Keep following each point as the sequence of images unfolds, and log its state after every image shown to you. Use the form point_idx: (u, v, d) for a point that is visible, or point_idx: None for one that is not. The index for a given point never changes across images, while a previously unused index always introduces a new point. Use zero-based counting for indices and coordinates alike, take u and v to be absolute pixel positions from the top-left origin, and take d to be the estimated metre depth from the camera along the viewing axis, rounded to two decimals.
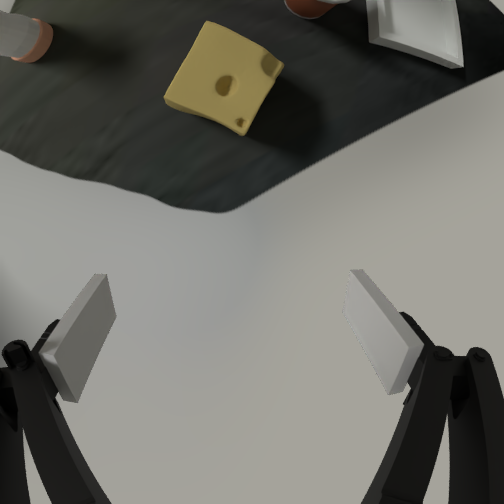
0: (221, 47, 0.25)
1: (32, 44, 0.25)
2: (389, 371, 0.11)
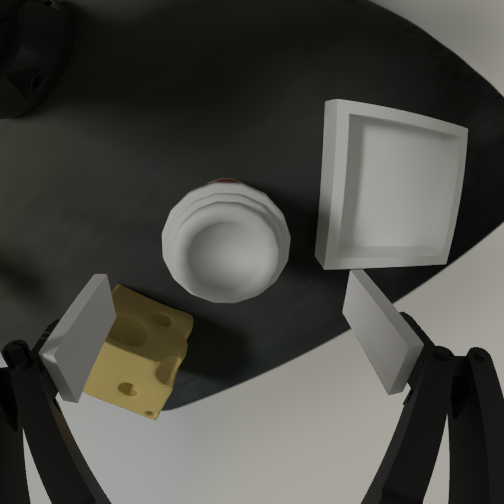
0: (110, 362, 0.25)
1: None
2: (389, 371, 0.11)
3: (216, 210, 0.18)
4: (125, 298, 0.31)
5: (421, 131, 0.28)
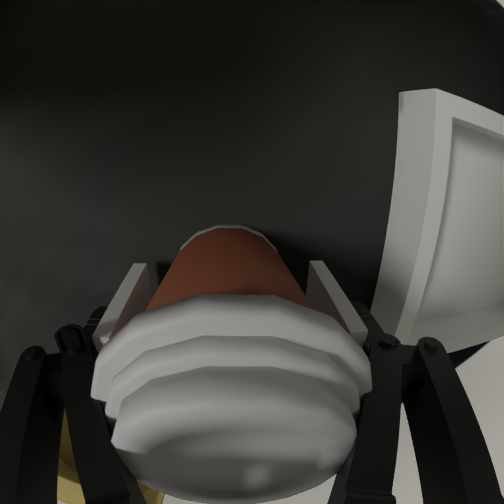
0: (72, 490, 0.12)
1: None
2: None
3: (207, 411, 0.05)
4: None
5: None
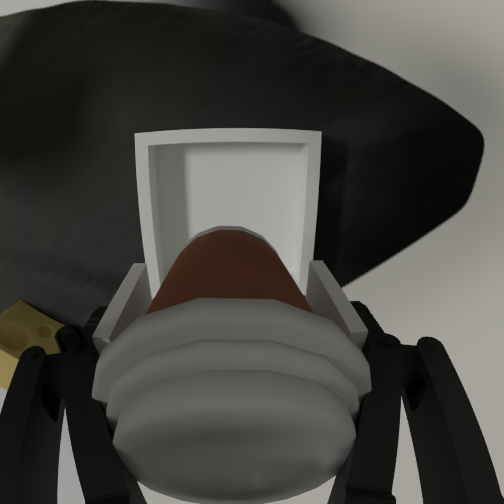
0: (1, 361, 0.25)
1: None
2: None
3: (207, 415, 0.05)
4: (20, 311, 0.31)
5: (263, 144, 0.28)
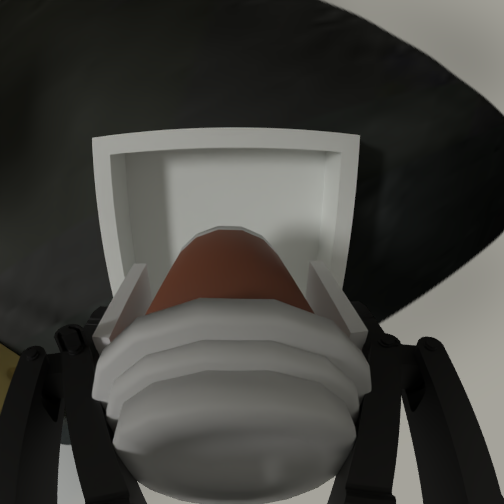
0: None
1: None
2: None
3: (207, 415, 0.05)
4: None
5: (275, 150, 0.20)
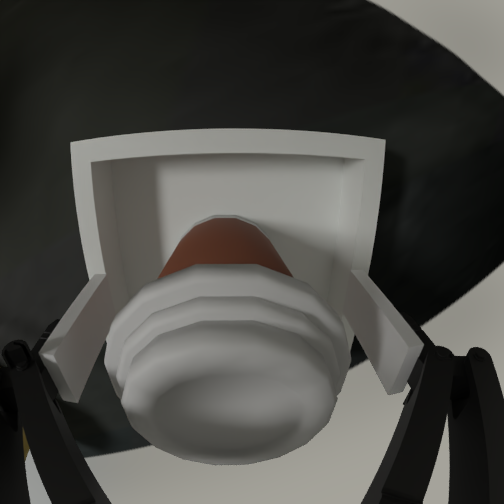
0: None
1: None
2: (389, 371, 0.11)
3: (202, 355, 0.07)
4: None
5: (285, 155, 0.17)
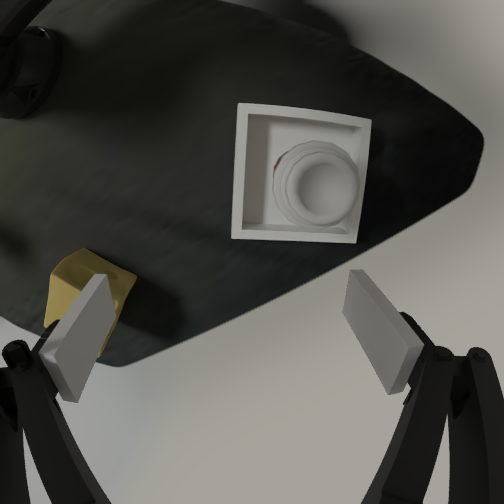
0: (66, 299, 0.33)
1: None
2: (389, 371, 0.11)
3: (321, 155, 0.26)
4: (86, 256, 0.38)
5: (327, 125, 0.36)
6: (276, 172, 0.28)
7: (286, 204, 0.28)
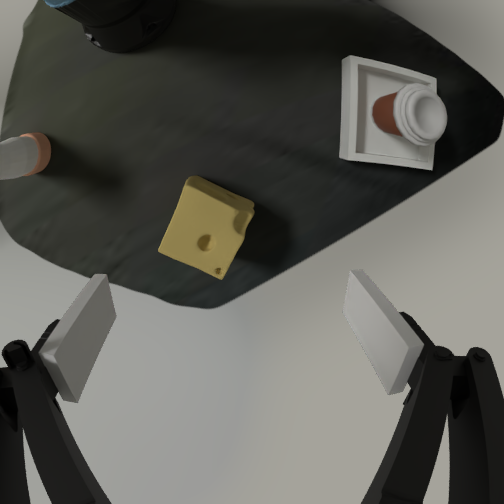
0: (199, 211, 0.37)
1: (34, 165, 0.37)
2: (389, 371, 0.11)
3: (426, 91, 0.30)
4: (204, 180, 0.43)
5: (405, 81, 0.40)
6: (397, 101, 0.32)
7: (405, 123, 0.32)
